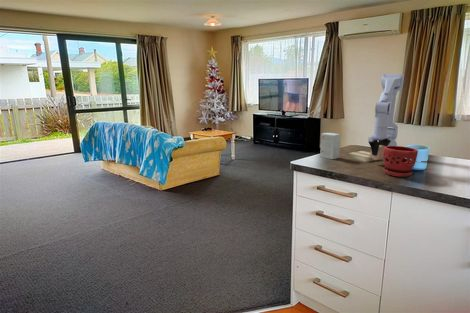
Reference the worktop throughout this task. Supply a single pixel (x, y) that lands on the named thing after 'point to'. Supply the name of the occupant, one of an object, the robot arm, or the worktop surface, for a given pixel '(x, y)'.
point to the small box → (330, 145)
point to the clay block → (379, 154)
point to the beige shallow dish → (361, 156)
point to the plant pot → (399, 160)
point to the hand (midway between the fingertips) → (378, 154)
